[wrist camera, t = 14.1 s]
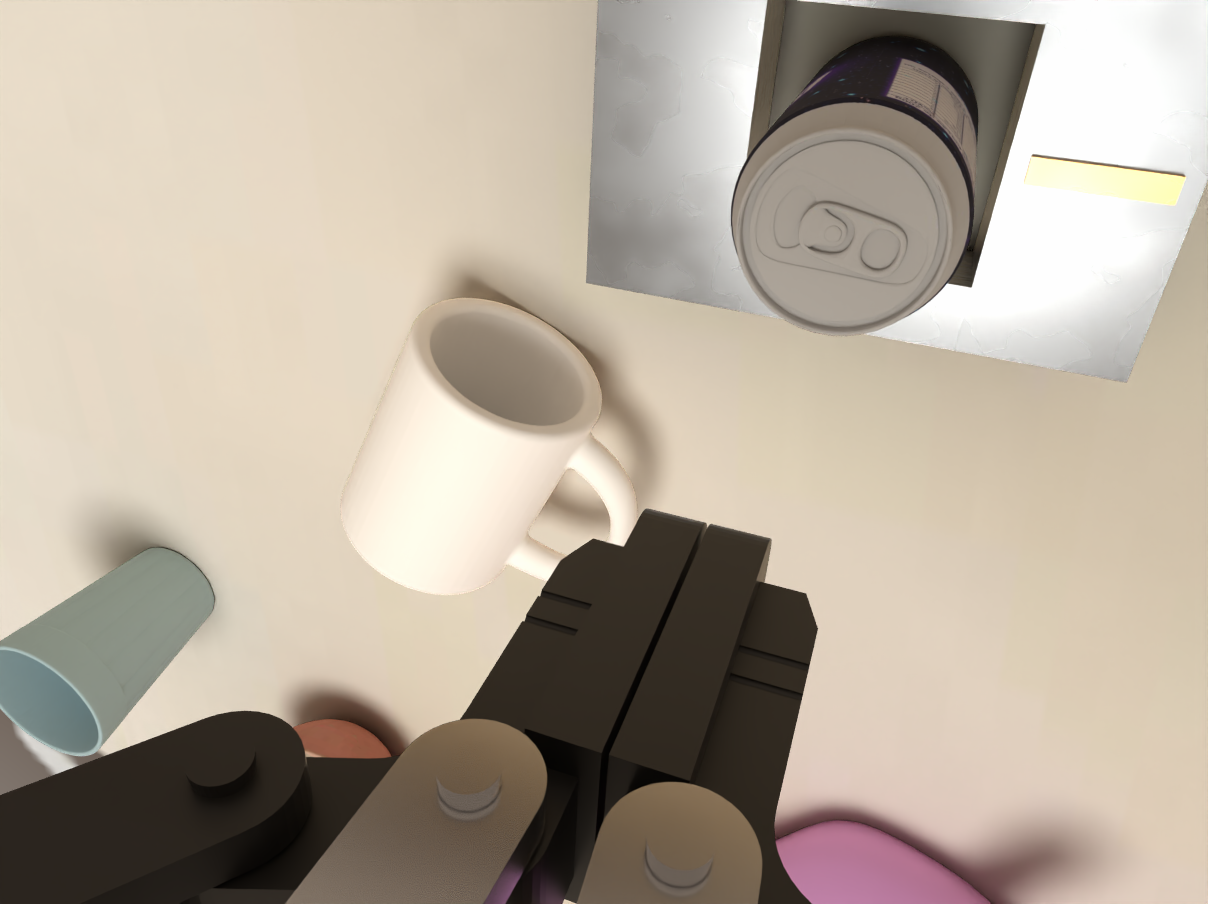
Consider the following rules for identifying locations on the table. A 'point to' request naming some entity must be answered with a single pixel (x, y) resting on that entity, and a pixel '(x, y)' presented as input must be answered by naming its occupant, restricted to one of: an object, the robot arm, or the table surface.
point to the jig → (1018, 192)
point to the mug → (477, 450)
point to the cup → (101, 650)
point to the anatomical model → (339, 740)
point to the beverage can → (861, 190)
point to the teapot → (867, 868)
